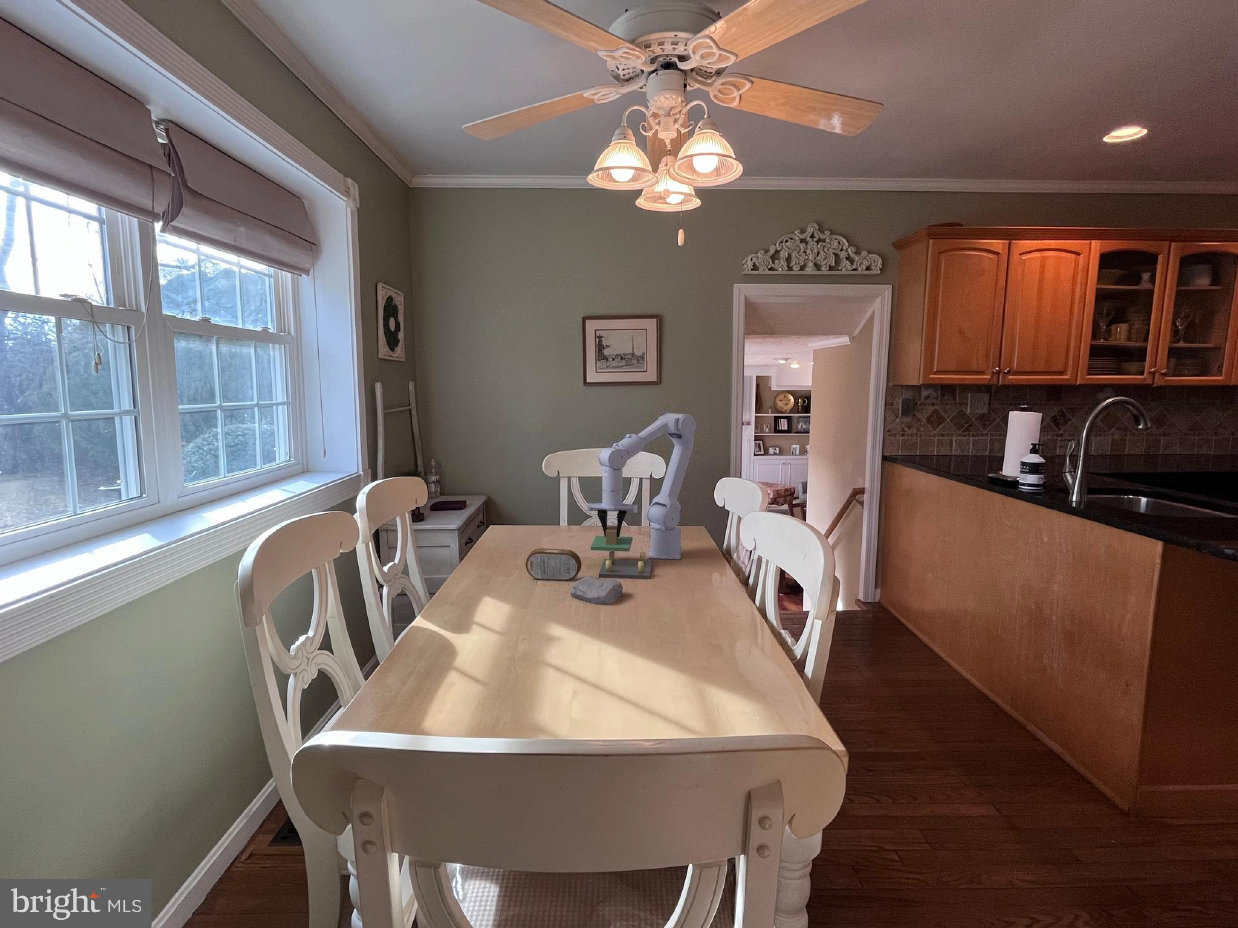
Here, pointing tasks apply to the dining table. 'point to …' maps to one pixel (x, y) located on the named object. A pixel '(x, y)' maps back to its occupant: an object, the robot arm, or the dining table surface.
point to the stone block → (597, 590)
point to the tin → (553, 564)
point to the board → (618, 547)
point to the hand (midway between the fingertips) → (612, 535)
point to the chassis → (626, 567)
